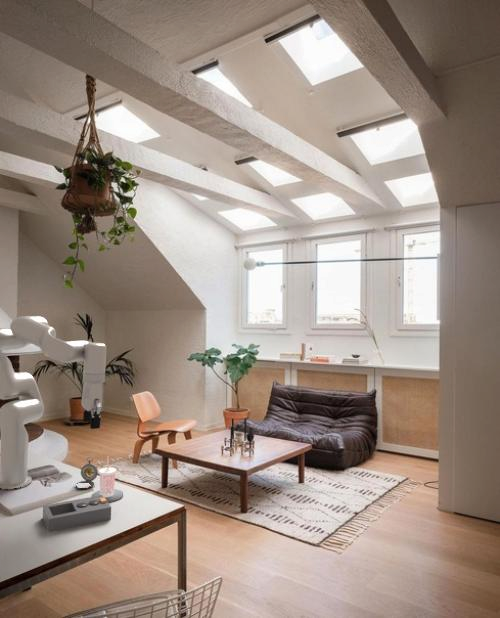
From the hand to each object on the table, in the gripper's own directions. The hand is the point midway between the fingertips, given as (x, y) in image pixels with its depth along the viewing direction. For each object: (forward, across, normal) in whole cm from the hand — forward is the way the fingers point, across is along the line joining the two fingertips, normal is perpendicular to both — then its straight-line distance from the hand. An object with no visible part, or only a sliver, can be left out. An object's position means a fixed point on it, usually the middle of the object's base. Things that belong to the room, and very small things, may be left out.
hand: (91, 424), depth 172 cm
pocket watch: (+27, -12, +3) cm, 29 cm away
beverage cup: (+26, +2, +6) cm, 27 cm away
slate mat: (+26, +2, +7) cm, 27 cm away
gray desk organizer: (+26, +15, -7) cm, 31 cm away
